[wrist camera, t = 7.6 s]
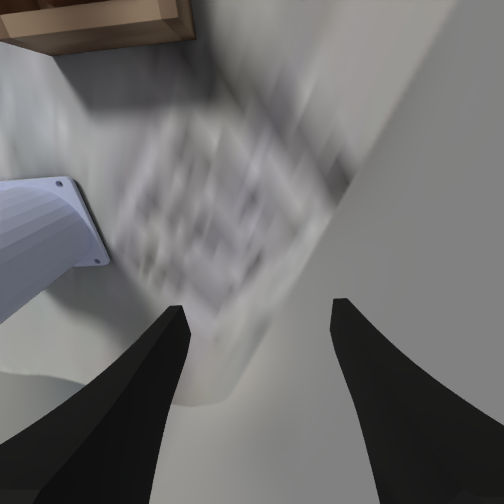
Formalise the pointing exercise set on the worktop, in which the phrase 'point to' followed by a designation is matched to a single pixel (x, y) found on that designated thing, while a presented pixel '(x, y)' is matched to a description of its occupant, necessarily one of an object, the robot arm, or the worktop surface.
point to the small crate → (71, 2)
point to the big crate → (94, 24)
